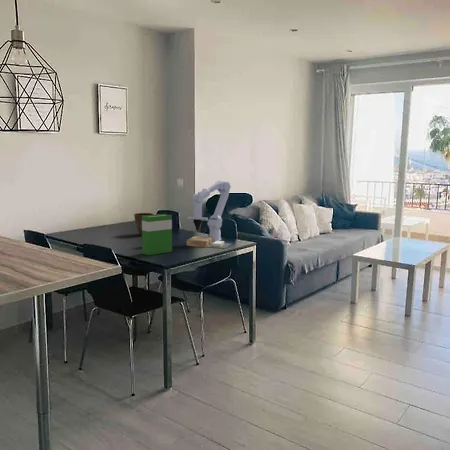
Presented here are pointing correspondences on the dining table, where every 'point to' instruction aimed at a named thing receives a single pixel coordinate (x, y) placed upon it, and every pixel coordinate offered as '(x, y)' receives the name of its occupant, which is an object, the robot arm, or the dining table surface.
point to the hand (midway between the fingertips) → (197, 230)
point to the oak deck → (200, 241)
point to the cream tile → (218, 243)
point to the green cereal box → (156, 234)
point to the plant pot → (140, 220)
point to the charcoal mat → (221, 246)
